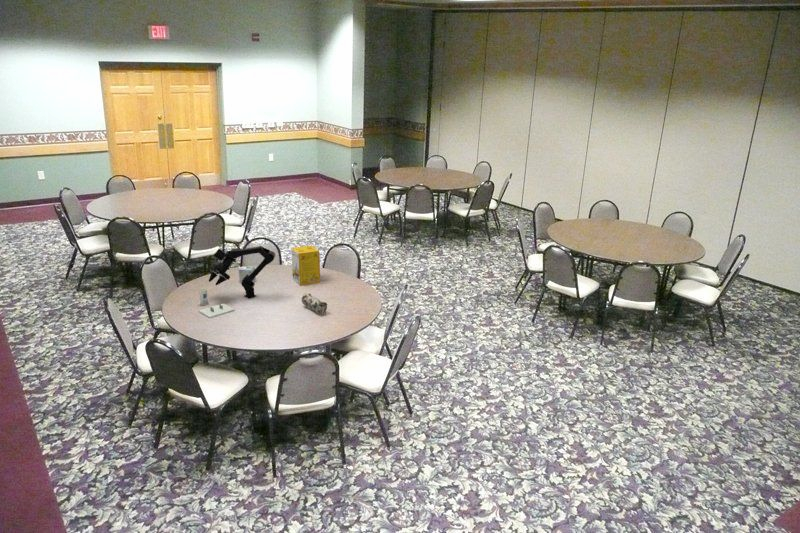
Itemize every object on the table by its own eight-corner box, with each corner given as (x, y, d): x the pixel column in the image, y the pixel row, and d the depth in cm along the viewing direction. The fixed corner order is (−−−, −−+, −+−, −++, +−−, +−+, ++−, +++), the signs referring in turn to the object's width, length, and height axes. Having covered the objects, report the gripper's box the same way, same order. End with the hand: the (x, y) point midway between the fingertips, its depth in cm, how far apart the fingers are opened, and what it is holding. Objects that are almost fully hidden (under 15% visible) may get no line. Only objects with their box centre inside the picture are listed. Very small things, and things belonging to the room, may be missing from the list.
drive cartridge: (208, 304, 397) (207, 290, 394) (203, 305, 394) (201, 291, 391) (205, 302, 399) (204, 289, 396) (200, 304, 397) (199, 290, 393)
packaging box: (292, 279, 446) (291, 247, 438) (312, 275, 453) (311, 245, 445) (299, 285, 432) (298, 253, 424) (320, 282, 440) (319, 251, 431)
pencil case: (328, 313, 386) (328, 299, 383) (317, 316, 381) (317, 302, 378) (311, 303, 402) (310, 290, 399) (300, 306, 397) (299, 292, 393)
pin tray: (234, 310, 387) (234, 305, 386) (209, 318, 375) (209, 313, 374) (223, 304, 396) (223, 300, 395) (199, 312, 384) (198, 307, 383)
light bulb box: (256, 280, 442) (255, 266, 439) (253, 283, 436) (252, 269, 433) (242, 279, 443) (241, 265, 440) (239, 282, 437) (238, 268, 433)
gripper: (210, 255, 402) (197, 273, 398) (224, 261, 389) (210, 281, 385) (222, 263, 410) (209, 281, 406) (235, 270, 397) (222, 289, 393)
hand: (212, 283), depth 397 cm, fingers open, 9 cm apart
